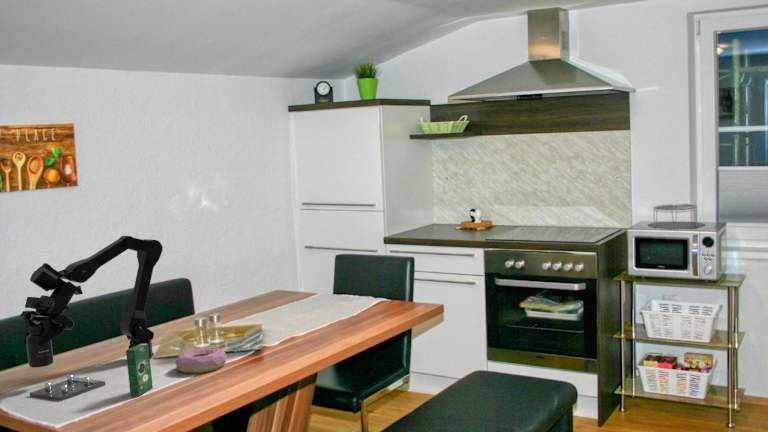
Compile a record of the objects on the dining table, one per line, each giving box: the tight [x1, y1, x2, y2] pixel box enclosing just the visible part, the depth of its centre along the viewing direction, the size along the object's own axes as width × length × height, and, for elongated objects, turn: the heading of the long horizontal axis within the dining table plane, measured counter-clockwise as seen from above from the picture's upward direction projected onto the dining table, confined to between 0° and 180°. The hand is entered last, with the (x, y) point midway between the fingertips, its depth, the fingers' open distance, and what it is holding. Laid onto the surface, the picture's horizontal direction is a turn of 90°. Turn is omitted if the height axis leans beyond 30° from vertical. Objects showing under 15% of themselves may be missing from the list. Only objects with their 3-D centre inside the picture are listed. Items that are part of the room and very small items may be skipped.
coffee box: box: [125, 344, 154, 398], centre depth 222 cm, size 8×3×13 cm, turn 168°
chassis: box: [29, 374, 106, 402], centre depth 230 cm, size 15×14×3 cm
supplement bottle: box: [25, 323, 54, 368], centre depth 236 cm, size 7×7×12 cm
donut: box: [175, 347, 228, 374], centre depth 243 cm, size 16×15×5 cm
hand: (31, 344), depth 234 cm, fingers closed on supplement bottle, 6 cm apart
